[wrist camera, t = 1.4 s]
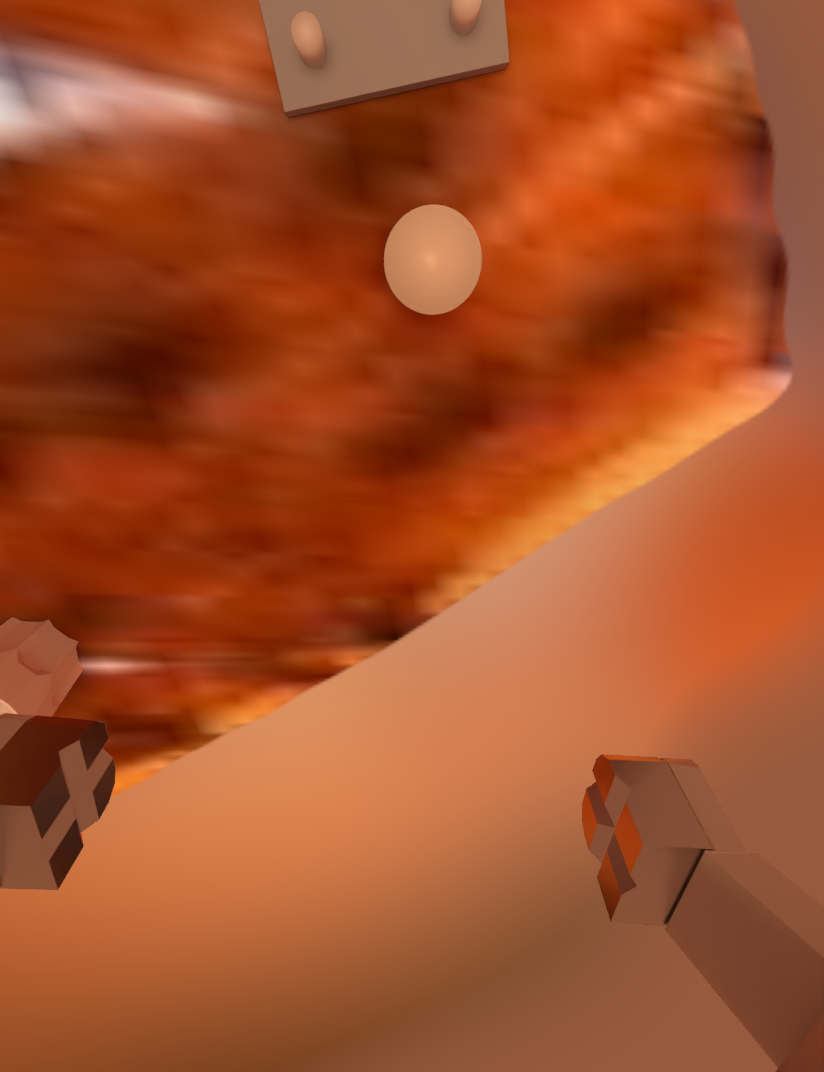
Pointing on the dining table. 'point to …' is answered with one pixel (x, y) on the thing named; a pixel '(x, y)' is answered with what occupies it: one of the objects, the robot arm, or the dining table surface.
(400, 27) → the standoff plate
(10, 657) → the beige tapered cylinder
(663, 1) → the dining table surface
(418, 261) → the cylinder
